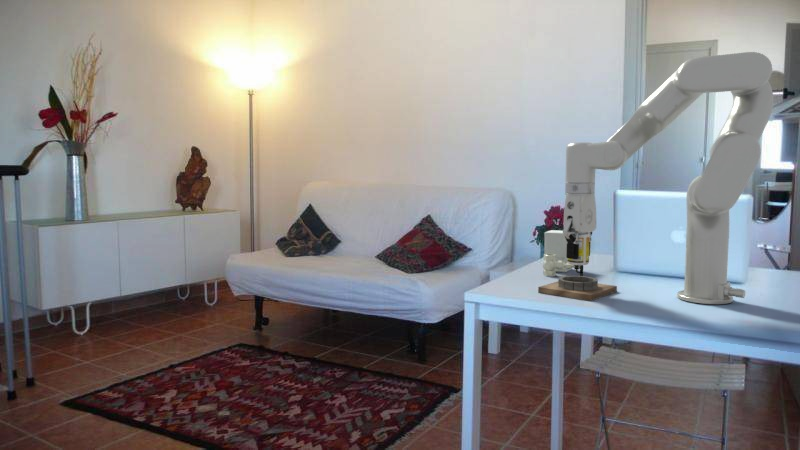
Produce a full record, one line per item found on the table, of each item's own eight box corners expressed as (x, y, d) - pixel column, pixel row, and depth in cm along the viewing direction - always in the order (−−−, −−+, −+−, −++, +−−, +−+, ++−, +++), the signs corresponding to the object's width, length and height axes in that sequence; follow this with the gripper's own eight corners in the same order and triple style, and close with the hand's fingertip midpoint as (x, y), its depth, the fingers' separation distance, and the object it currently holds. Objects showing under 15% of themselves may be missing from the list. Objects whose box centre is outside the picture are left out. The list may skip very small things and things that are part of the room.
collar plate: (616, 291, 164) (617, 278, 164) (590, 300, 154) (590, 287, 153) (566, 284, 175) (566, 272, 174) (538, 292, 164) (538, 279, 164)
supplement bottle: (581, 261, 167) (582, 224, 166) (592, 265, 162) (594, 226, 160) (563, 262, 166) (564, 225, 165) (574, 266, 160) (574, 227, 159)
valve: (542, 277, 186) (583, 279, 183) (542, 255, 186) (583, 257, 182) (543, 273, 193) (582, 275, 189) (543, 252, 192) (583, 254, 189)
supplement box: (572, 269, 199) (573, 230, 198) (566, 272, 193) (566, 233, 192) (550, 267, 203) (551, 229, 202) (543, 270, 197) (543, 231, 196)
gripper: (577, 191, 153) (575, 262, 155) (608, 188, 165) (606, 255, 167) (550, 190, 158) (549, 259, 160) (582, 188, 170) (580, 252, 172)
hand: (578, 256), depth 163 cm, fingers closed on supplement bottle, 5 cm apart
